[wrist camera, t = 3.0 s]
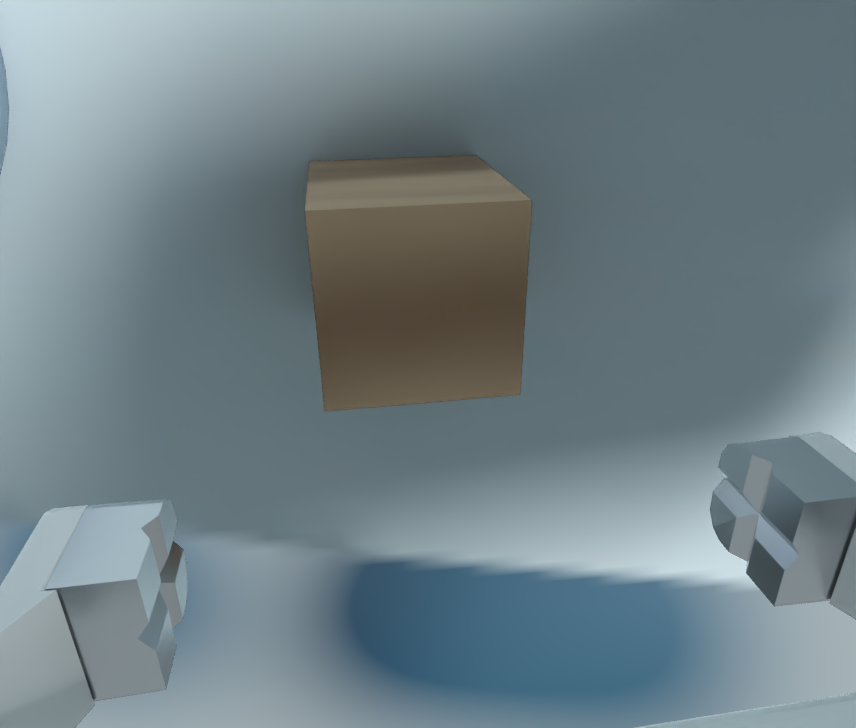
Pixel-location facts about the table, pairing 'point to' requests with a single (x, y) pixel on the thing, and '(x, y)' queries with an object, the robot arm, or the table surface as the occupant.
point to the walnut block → (417, 279)
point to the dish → (3, 111)
